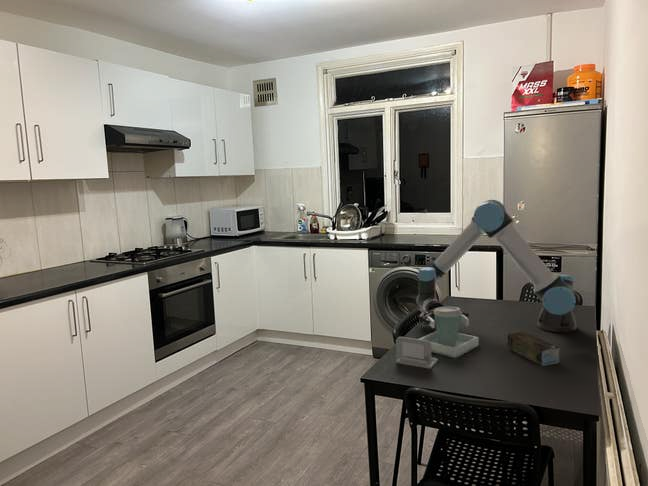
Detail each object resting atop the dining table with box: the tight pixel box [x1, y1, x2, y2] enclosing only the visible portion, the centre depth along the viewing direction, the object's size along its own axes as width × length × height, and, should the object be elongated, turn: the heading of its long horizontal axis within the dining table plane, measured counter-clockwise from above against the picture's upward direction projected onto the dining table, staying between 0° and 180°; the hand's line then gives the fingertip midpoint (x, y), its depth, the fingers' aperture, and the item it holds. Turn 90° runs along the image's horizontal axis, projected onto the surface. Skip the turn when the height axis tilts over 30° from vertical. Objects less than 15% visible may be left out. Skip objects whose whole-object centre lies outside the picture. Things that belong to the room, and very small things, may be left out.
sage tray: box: [419, 330, 480, 359], centre depth 194 cm, size 17×17×4 cm
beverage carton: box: [507, 331, 561, 367], centre depth 182 cm, size 8×19×7 cm, turn 16°
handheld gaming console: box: [395, 336, 439, 370], centre depth 180 cm, size 13×9×10 cm
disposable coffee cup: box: [434, 306, 463, 347], centre depth 193 cm, size 11×11×15 cm
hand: (450, 323), depth 190 cm, fingers open, 13 cm apart
